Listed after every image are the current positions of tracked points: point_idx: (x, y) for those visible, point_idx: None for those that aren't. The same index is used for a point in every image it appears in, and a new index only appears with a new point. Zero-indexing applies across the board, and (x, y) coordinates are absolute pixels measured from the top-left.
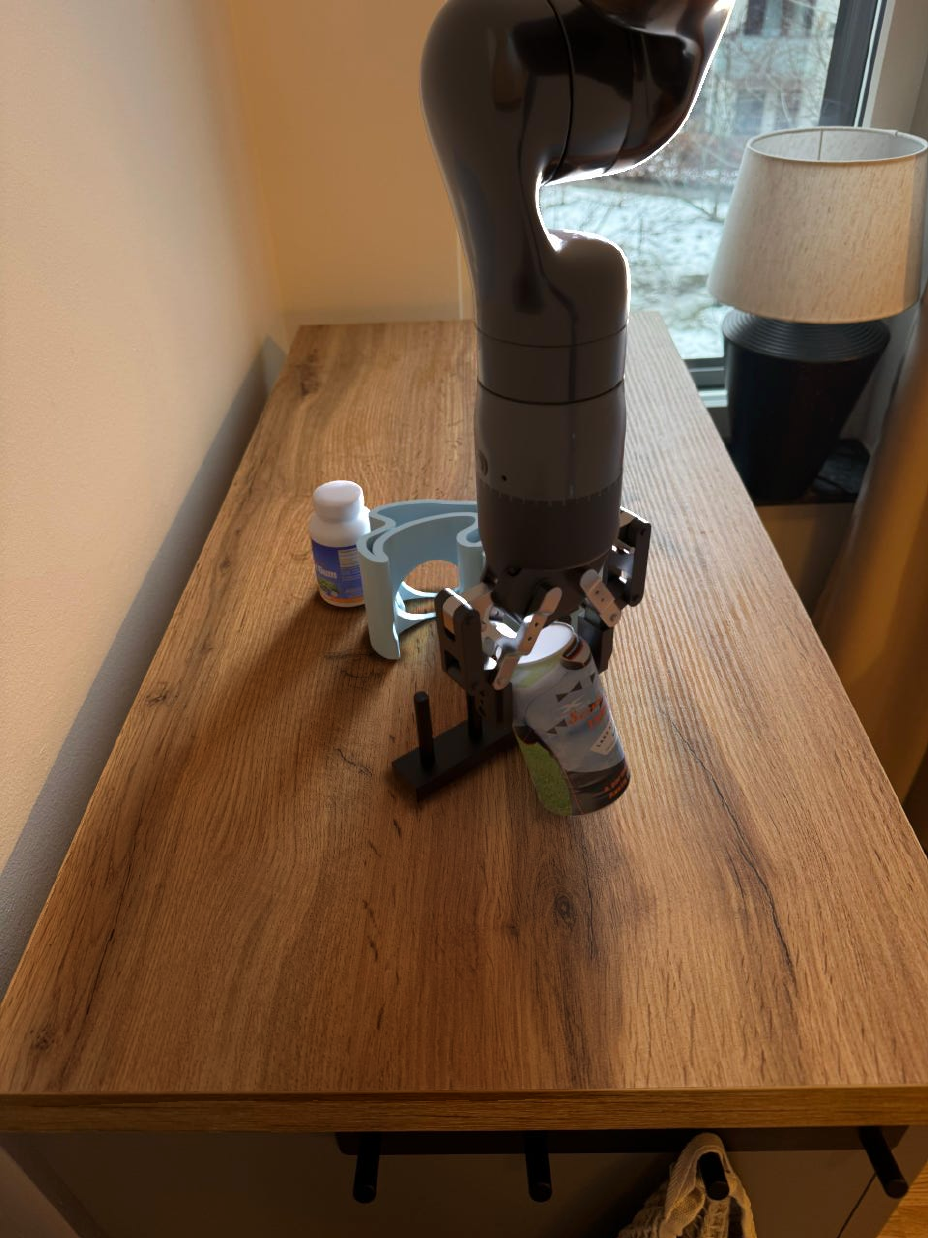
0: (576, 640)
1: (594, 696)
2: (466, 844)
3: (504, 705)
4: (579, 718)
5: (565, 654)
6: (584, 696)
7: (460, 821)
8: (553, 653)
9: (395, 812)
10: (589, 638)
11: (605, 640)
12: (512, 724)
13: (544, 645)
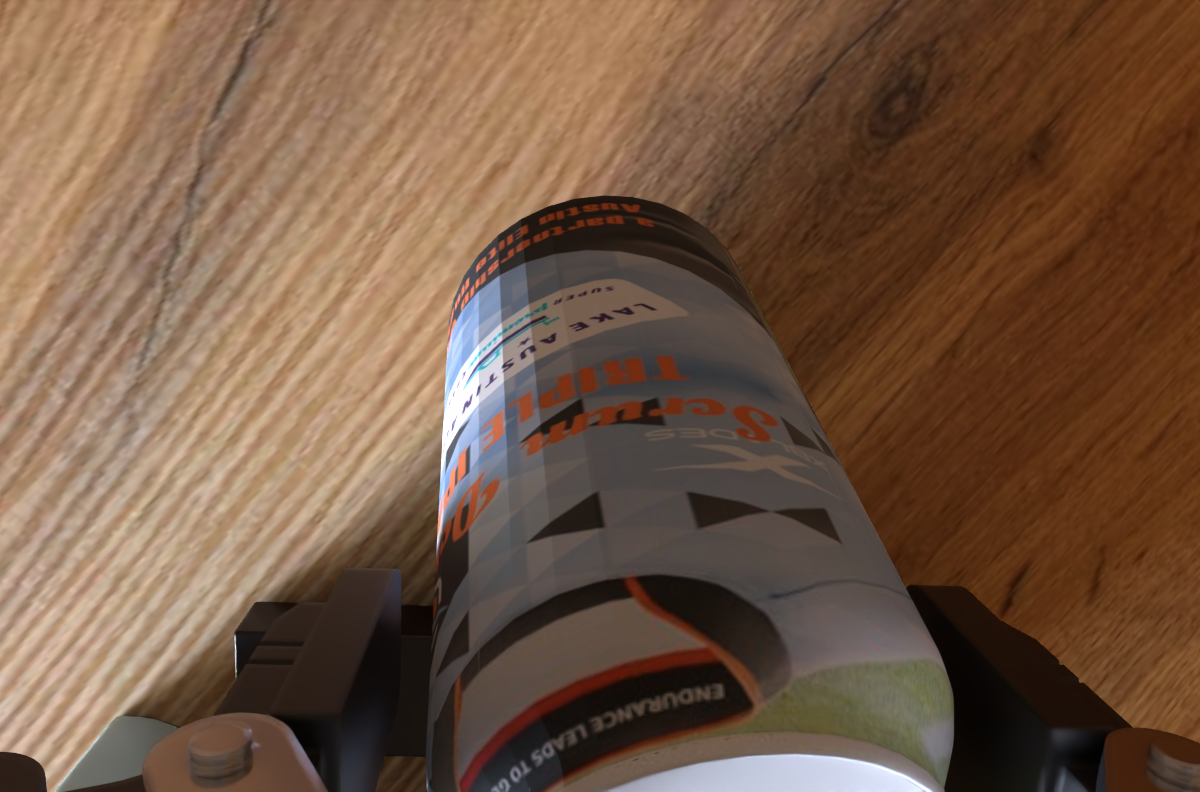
0: (560, 755)
1: (603, 444)
2: (930, 435)
3: (1032, 658)
4: (727, 405)
5: (722, 704)
6: (681, 460)
7: (887, 502)
8: (811, 751)
9: None
10: (365, 741)
11: (328, 670)
12: (914, 585)
13: None
